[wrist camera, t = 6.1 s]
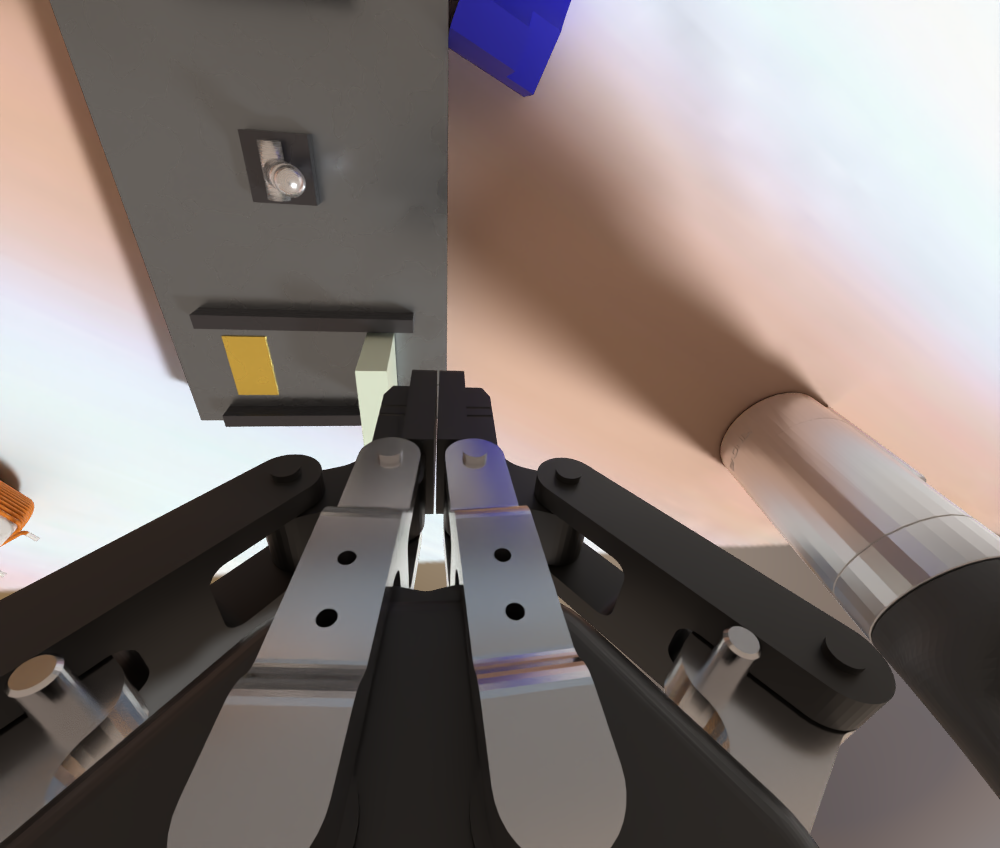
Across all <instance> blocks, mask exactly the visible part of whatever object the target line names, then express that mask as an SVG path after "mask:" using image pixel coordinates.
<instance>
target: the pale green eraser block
mask: <svg viewBox="0 0 1000 848" xmlns="http://www.w3.org/2000/svg"><path fill="white" fill-rule="evenodd" d="M355 376H356V384H357V392H358V400H359V409H360V417H361V425H362V433H363V441H364V446H365V445H367V444H368V443H370V442H372V439H373V435H374V431H375V427H376V423H377V419H378V415H379V411H380V407H381V403H382V399H383V395H384V394H385V393H386V392H387V391H388V390H389V389H390V388H391V387H392V386H397V370H396V355H395V339H394V333H367V335H366V338H365V341H364V344H363V347H362V350H361V353H360V357H359V360H358V363H357V366H356V369H355Z"/></svg>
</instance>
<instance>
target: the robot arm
mask: <svg viewBox="0 0 1000 848" xmlns="http://www.w3.org/2000/svg"><path fill="white" fill-rule="evenodd" d="M436 438H437V464H436V514H444V528H443V543H444V555H445V566H446V578H447V587H445V588H441V589H437V590H433V591H419V590H414V584H415V578H416V572H417V566H418V560H419V554H420V548H421V542H422V530H423V527H424V521H425V514H433V511H434V487H435V462H436ZM720 455H721V459H722V462H723V464H724V465H725V467H726V468H727V469H728V470H729V472H730V473H731V474H732V475H733V476H734V478H735V479H736V480H737V481H738V482H739V484H740V485H741V486H742V487H743V488H744V490H745V491H746V492H747V493H748V495H749V496H750V497H751V498H752V500H753V501H754V502H755V503H756V504H757V506H758V507H759V508H760V509H761V510H762V512H763V513H764V514H765V515H766V516H767V518H768V519H769V520H770V521H771V522H772V524H773V525H774V526H775V527H776V528H777V530H778V531H779V532H780V533H781V534H782V536H783V537H784V538H785V539H786V540H787V542H788V543H789V544H790V545H791V547H792V548H793V549H794V550H795V551H796V553H797V554H798V555H799V556H800V557H801V559H802V560H803V561H804V562H805V563H806V565H807V566H808V567H809V568H810V569H811V571H812V572H813V573H814V574H815V575H816V576H817V578H818V579H819V580H820V581H821V583H822V584H823V585H824V586H825V587H826V588H827V590H828V591H829V592H830V593H831V595H832V596H833V597H834V598H835V599H836V600H837V601H838V603H839V604H840V605H841V606H842V608H843V609H844V610H845V611H846V612H847V614H848V615H849V616H850V617H851V618H852V620H853V621H854V622H855V623H856V624H857V625H858V627H859V628H860V629H861V630H862V631H863V633H864V634H865V635H866V636H867V638H868V639H869V640H870V641H871V642H872V643H873V645H874V646H875V647H874V646H872V644H870V643H869V642H868V641H867V640H866V639H865V638H863V637H862V636H861V635H860V634H858V633H856V632H855V631H854V630H852V629H850V628H849V627H847V626H845V625H844V624H842V623H841V622H839V621H838V620H836V619H834V618H833V617H831V616H830V615H828V614H826V613H825V612H823V611H821V610H820V609H818V608H817V607H815V606H813V605H812V604H810V603H809V602H807V601H805V600H804V599H802V598H800V597H799V596H797V595H796V594H794V593H792V592H791V591H789V590H788V589H786V588H784V587H783V586H781V585H779V584H778V583H776V582H774V581H773V580H771V579H770V578H768V577H766V576H765V575H763V574H762V573H760V572H758V571H757V570H755V569H754V568H752V567H750V566H749V565H747V564H746V563H744V562H742V561H741V560H739V559H737V558H736V557H734V556H733V555H731V554H729V553H728V552H726V551H725V550H723V549H721V548H720V547H718V546H716V545H715V544H713V543H712V542H710V541H708V540H707V539H705V538H704V537H702V536H700V535H699V534H697V533H696V532H694V531H692V530H691V529H689V528H687V527H686V526H684V525H683V524H681V523H679V522H678V521H676V520H675V519H673V518H671V517H670V516H668V515H666V514H665V513H663V512H662V511H660V510H658V509H657V508H655V507H654V506H652V505H650V504H649V503H647V502H645V501H644V500H642V499H641V498H639V497H637V496H636V495H634V494H633V493H631V492H629V491H628V490H626V489H624V488H623V487H621V486H620V485H618V484H616V483H615V482H613V481H612V480H610V479H608V478H607V477H605V476H603V475H602V474H600V473H599V472H597V471H595V470H594V469H592V468H591V467H589V466H587V465H586V464H584V463H582V462H580V461H577V460H574V459H569V458H553V459H549V460H547V461H545V462H543V463H542V464H541V465H540V466H539V468H538V471H536V470H532V469H527V468H523V467H520V466H517V465H514V464H513V463H511V462H509V461H508V460H506V459H505V457H504V454H503V451H502V450H501V449H500V448H499V447H498V446H497V439H496V433H495V426H494V420H493V413H492V407H491V400H490V396H489V395H488V394H487V393H486V392H485V391H484V390H483V389H482V388H465V378H464V371H444V370H439V395H438V420H437V370H412V374H411V380H410V386H392V387H391V388H390V389H389V390H388V391H387V392H386V393H385V394H384V395H383V399H382V403H381V407H380V411H379V415H378V419H377V423H376V427H375V431H374V435H373V439H372V442H370V443H368V444H367V445H365V446H364V447H363V448H362V449H361V451H360V452H359V455H358V457H357V459H356V461H355V462H353V463H351V464H348V465H345V466H341V467H337V468H332V469H327V470H322V468H321V465H320V463H319V462H318V461H317V460H315V459H314V458H312V457H309V456H306V455H296V454H294V455H284V456H280V457H276V458H273V459H271V460H268V461H266V462H264V463H262V464H260V465H258V466H257V467H255V468H253V469H251V470H249V471H247V472H245V473H243V474H241V475H239V476H237V477H235V478H234V479H232V480H230V481H228V482H226V483H224V484H222V485H220V486H218V487H216V488H214V489H212V490H211V491H209V492H207V493H205V494H203V495H201V496H199V497H197V498H195V499H193V500H191V501H189V502H188V503H186V504H184V505H182V506H180V507H178V508H176V509H174V510H172V511H170V512H168V513H166V514H165V515H163V516H161V517H159V518H157V519H155V520H153V521H151V522H149V523H147V524H145V525H143V526H141V527H140V528H138V529H136V530H134V531H132V532H130V533H128V534H126V535H124V536H122V537H120V538H118V539H117V540H115V541H113V542H111V543H109V544H107V545H105V546H103V547H101V548H99V549H97V550H95V551H94V552H92V553H90V554H88V555H86V556H84V557H82V558H80V559H78V560H76V561H74V562H72V563H71V564H69V565H67V566H65V567H63V568H61V569H59V570H57V571H55V572H53V573H51V574H49V575H48V576H46V577H44V578H42V579H40V580H38V581H36V582H34V583H32V584H30V585H28V586H26V587H25V588H23V589H21V590H19V591H17V592H15V593H13V594H11V595H9V596H7V597H5V598H4V599H2V600H0V848H819V846H818V845H817V844H816V842H815V841H814V839H813V838H812V837H811V835H810V832H811V829H812V826H813V823H814V820H815V817H816V814H817V812H818V809H819V805H820V803H821V799H822V797H823V793H824V791H825V787H826V785H827V782H828V779H829V776H830V773H831V770H832V767H833V764H834V761H835V758H836V755H837V752H838V749H839V746H840V745H841V744H842V743H843V742H844V741H845V740H846V739H847V738H848V737H850V736H851V735H852V734H853V733H854V732H855V731H856V730H857V729H858V728H859V727H860V726H861V725H863V724H864V723H865V722H866V721H867V720H868V719H869V718H870V717H871V716H872V715H874V714H875V713H876V712H877V711H878V710H879V709H880V708H881V707H882V706H884V705H885V704H886V703H887V702H888V701H889V700H890V699H891V698H892V697H893V695H894V693H895V688H896V687H895V679H894V675H893V673H892V671H891V669H890V667H889V665H888V663H889V664H890V665H891V666H892V667H893V669H894V670H895V671H896V672H897V673H898V674H899V676H900V677H901V678H902V679H903V680H904V681H905V682H906V684H908V686H909V687H910V688H911V689H912V691H913V692H914V693H915V694H916V696H917V697H918V698H919V699H920V700H921V701H922V703H923V704H924V705H925V706H926V707H927V709H928V710H929V711H930V712H931V714H932V715H933V716H934V717H935V718H936V720H937V721H938V722H939V723H940V724H941V725H942V727H943V728H944V729H945V731H946V732H947V733H948V734H949V735H950V737H951V738H952V739H953V740H954V742H955V743H956V744H957V745H958V746H959V748H960V749H961V750H962V751H963V753H964V754H965V755H966V756H967V758H968V759H969V760H970V762H971V763H972V764H973V766H974V767H975V768H976V769H977V771H978V772H979V773H980V775H981V776H982V777H983V778H984V780H985V781H986V782H987V783H988V785H989V786H990V787H991V789H992V790H993V791H994V792H995V794H996V795H997V796H998V798H999V799H1000V537H999V536H997V535H996V534H995V533H993V532H992V531H991V530H989V529H988V528H987V527H985V526H984V525H983V524H981V523H980V522H979V521H977V520H976V519H974V518H973V517H971V516H970V515H969V514H967V513H966V512H965V511H963V510H962V509H961V508H959V507H958V506H957V505H955V504H954V503H953V502H951V501H950V500H949V499H947V498H946V497H945V496H943V495H942V494H941V493H939V492H938V491H937V490H935V489H934V488H933V487H931V486H930V485H929V484H927V483H926V479H925V477H924V476H923V475H922V474H921V473H919V472H918V471H917V470H915V469H914V468H912V467H911V466H910V465H908V464H907V463H906V462H904V461H903V460H902V459H900V458H899V457H897V456H896V455H895V454H893V453H892V452H891V451H889V450H888V449H887V448H885V447H884V446H882V445H881V444H880V443H878V442H877V441H876V440H874V439H873V438H872V437H870V436H869V435H867V434H866V433H865V432H863V431H862V430H861V429H859V428H858V427H857V426H855V425H854V424H853V423H851V422H850V421H848V420H847V419H846V418H844V417H843V416H842V415H840V414H839V413H838V412H836V411H835V410H833V409H832V408H826V407H824V406H823V405H822V404H820V403H819V402H818V401H816V400H815V399H813V398H812V397H810V396H808V395H805V394H801V393H784V394H778V395H775V396H772V397H769V398H766V399H764V400H762V401H760V402H758V403H756V404H754V405H753V406H752V407H750V408H749V409H747V410H746V411H744V412H743V413H742V414H741V415H740V416H739V417H738V418H737V419H736V420H735V421H734V422H733V424H732V425H731V426H730V427H729V429H728V430H727V432H726V434H725V436H724V438H723V441H722V444H721V452H720ZM584 536H585V537H586V538H587V539H589V540H590V541H591V542H593V543H594V544H596V545H597V546H598V547H600V548H601V549H602V550H604V551H605V552H606V553H608V554H609V555H610V556H612V557H613V558H614V559H616V560H617V562H618V563H619V564H620V566H621V567H622V569H623V572H622V571H621V570H619V569H618V568H617V567H616V566H614V565H613V564H612V563H610V562H609V561H608V560H606V559H605V558H604V557H602V556H601V555H600V554H598V553H597V552H596V551H594V550H593V549H592V548H590V547H589V546H588V545H586V544H585V543H584V542H583V540H584ZM265 537H266V539H267V542H268V546H267V547H266V548H264V549H263V550H261V551H260V552H258V553H257V554H255V555H254V556H252V557H251V558H249V559H248V560H246V561H245V562H243V563H242V564H240V565H239V566H238V567H236V568H235V569H233V570H232V571H230V572H229V573H227V574H226V575H224V576H223V577H221V578H220V579H218V580H217V581H215V582H214V583H212V584H211V585H210V583H211V580H212V578H213V576H214V574H215V573H216V572H217V571H218V570H219V568H221V567H222V566H223V565H224V564H226V563H227V562H229V561H230V560H232V559H233V558H235V557H236V556H238V555H239V554H241V553H242V552H244V551H245V550H247V549H248V548H250V547H251V546H253V545H255V544H256V543H258V542H259V541H261V540H262V539H264V538H265ZM557 595H558V596H559V597H560V598H561V599H562V600H563V601H564V602H566V603H567V604H568V605H570V607H571V608H572V609H574V610H575V611H576V612H577V613H578V614H580V615H581V616H582V617H581V616H580V615H578V614H577V613H576V612H574V611H573V610H571V609H570V608H568V607H566V606H564V605H563V604H561V603H560V602H559V599H558V596H557ZM588 622H589V623H590V624H591V625H590V624H589V623H588ZM596 629H597V630H598V631H599V632H600V633H601V634H602V635H603V636H605V637H606V638H607V639H608V640H609V641H610V642H612V643H613V644H614V645H615V646H616V647H617V648H618V649H620V650H621V651H622V652H623V653H624V654H625V655H627V656H628V657H629V658H630V659H631V660H632V661H633V662H634V663H636V664H637V665H638V666H639V667H640V668H641V669H642V670H644V671H645V672H646V673H647V674H648V675H649V676H651V677H652V678H653V679H654V680H655V681H656V682H657V683H659V684H660V685H661V686H662V687H663V688H664V689H665V693H664V692H663V691H661V689H660V688H658V687H657V686H656V685H655V684H654V683H653V682H652V681H651V680H650V679H649V678H648V677H647V676H646V675H644V674H643V673H642V672H641V671H640V670H639V669H638V668H637V667H636V666H635V665H634V664H632V663H631V662H630V661H629V660H628V659H627V658H626V657H625V656H624V655H623V654H622V653H621V652H620V651H619V650H617V649H616V648H615V647H614V646H613V645H612V644H611V643H610V642H609V641H608V640H606V638H605V637H603V636H602V635H601V634H600V633H599V632H598V631H597V630H596ZM877 650H878V651H879V652H880V653H881V654H880V653H879V652H878V651H877ZM883 657H884V658H885V659H886V660H887V662H888V663H887V662H886V660H885V659H884V658H883Z"/></svg>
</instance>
